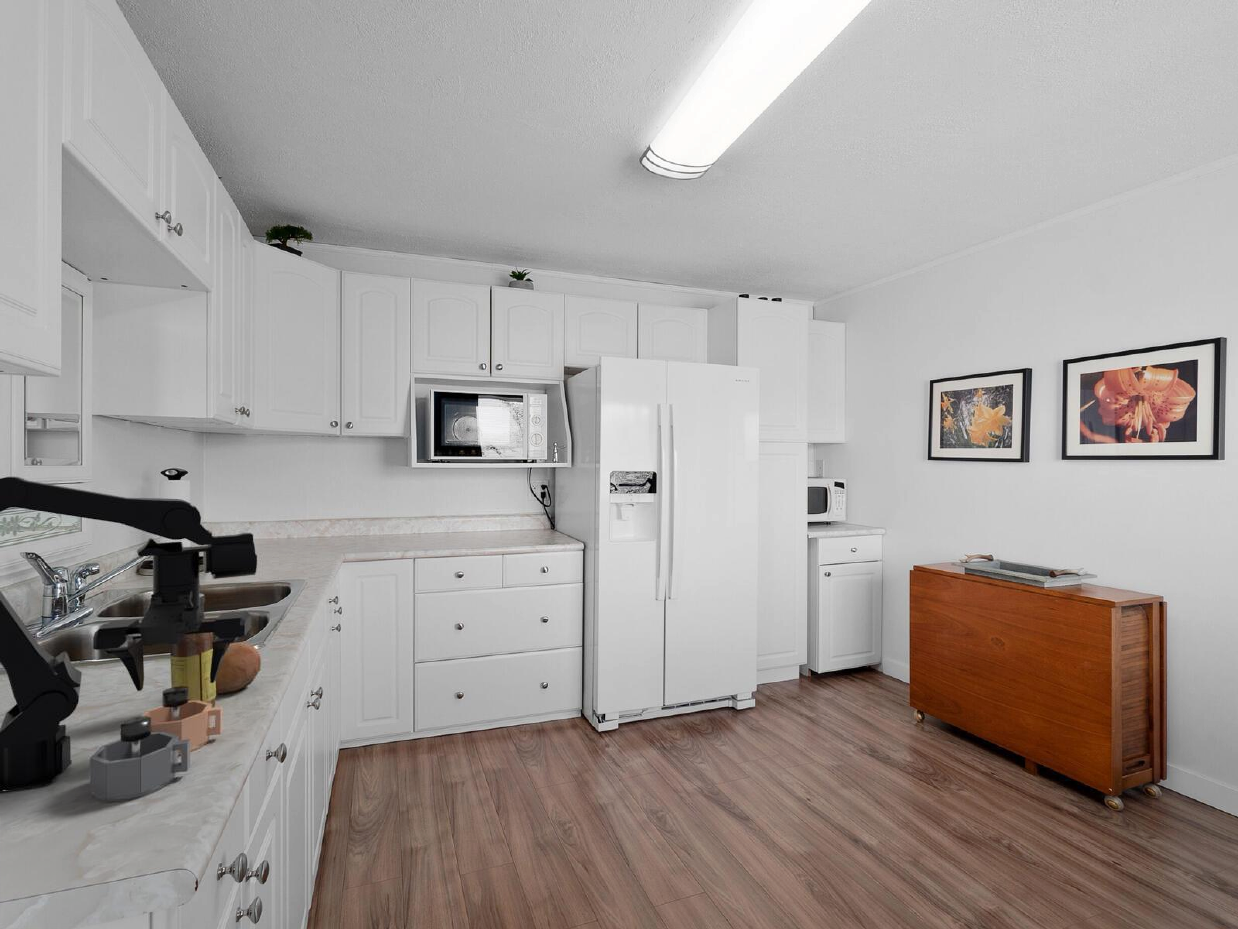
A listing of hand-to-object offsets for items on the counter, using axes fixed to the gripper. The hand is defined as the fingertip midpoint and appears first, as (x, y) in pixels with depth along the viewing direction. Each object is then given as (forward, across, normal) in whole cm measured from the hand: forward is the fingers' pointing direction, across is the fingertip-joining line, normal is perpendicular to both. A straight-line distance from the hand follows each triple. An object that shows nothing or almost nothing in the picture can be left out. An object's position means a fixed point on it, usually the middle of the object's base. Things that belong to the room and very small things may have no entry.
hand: (177, 686), depth 94 cm
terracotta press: (+9, 0, 0) cm, 9 cm away
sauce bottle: (+9, -1, +14) cm, 17 cm away
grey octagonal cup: (+9, -2, -12) cm, 15 cm away
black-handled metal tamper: (+8, 0, 0) cm, 8 cm away
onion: (+9, +3, +23) cm, 25 cm away
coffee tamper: (+8, -2, -12) cm, 14 cm away
